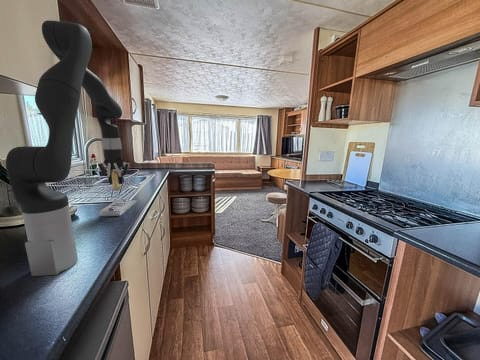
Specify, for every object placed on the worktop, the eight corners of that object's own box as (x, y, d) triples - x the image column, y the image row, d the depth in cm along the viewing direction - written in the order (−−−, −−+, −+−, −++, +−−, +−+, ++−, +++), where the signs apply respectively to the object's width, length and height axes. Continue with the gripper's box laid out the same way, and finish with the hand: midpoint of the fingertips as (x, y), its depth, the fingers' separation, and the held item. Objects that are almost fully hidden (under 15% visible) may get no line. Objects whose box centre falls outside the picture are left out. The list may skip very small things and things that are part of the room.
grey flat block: (120, 215, 95) (119, 209, 94) (100, 216, 94) (99, 209, 93) (136, 202, 114) (135, 196, 114) (120, 202, 113) (119, 197, 113)
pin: (119, 189, 100) (117, 171, 98) (111, 190, 99) (109, 171, 97) (122, 188, 103) (120, 170, 101) (114, 188, 103) (112, 170, 101)
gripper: (91, 148, 92) (96, 186, 96) (125, 148, 94) (128, 185, 98) (100, 147, 100) (104, 182, 103) (131, 147, 101) (134, 182, 105)
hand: (116, 183), depth 101 cm, fingers closed on pin, 3 cm apart
